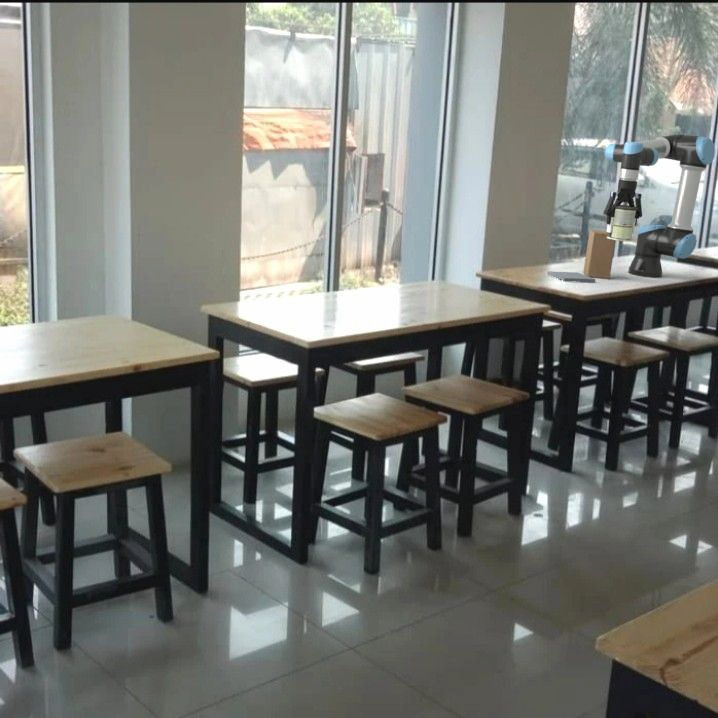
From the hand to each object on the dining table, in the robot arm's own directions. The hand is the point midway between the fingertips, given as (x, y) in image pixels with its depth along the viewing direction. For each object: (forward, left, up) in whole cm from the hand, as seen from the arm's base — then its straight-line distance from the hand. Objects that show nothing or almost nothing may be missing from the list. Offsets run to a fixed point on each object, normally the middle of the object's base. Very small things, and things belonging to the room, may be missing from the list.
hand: (620, 232), depth 438 cm
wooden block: (-5, -21, -23) cm, 31 cm away
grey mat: (+13, -13, -23) cm, 29 cm away
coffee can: (0, 0, -3) cm, 3 cm away
